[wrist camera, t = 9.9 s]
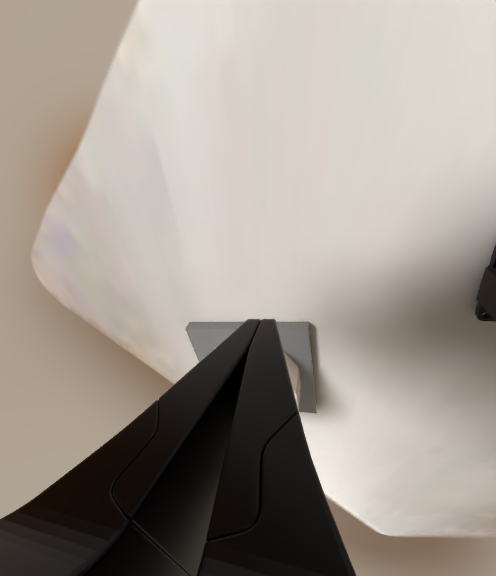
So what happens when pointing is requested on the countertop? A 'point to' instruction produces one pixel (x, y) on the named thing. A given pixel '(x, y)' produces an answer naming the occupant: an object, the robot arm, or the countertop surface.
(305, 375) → the socket
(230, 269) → the countertop surface
